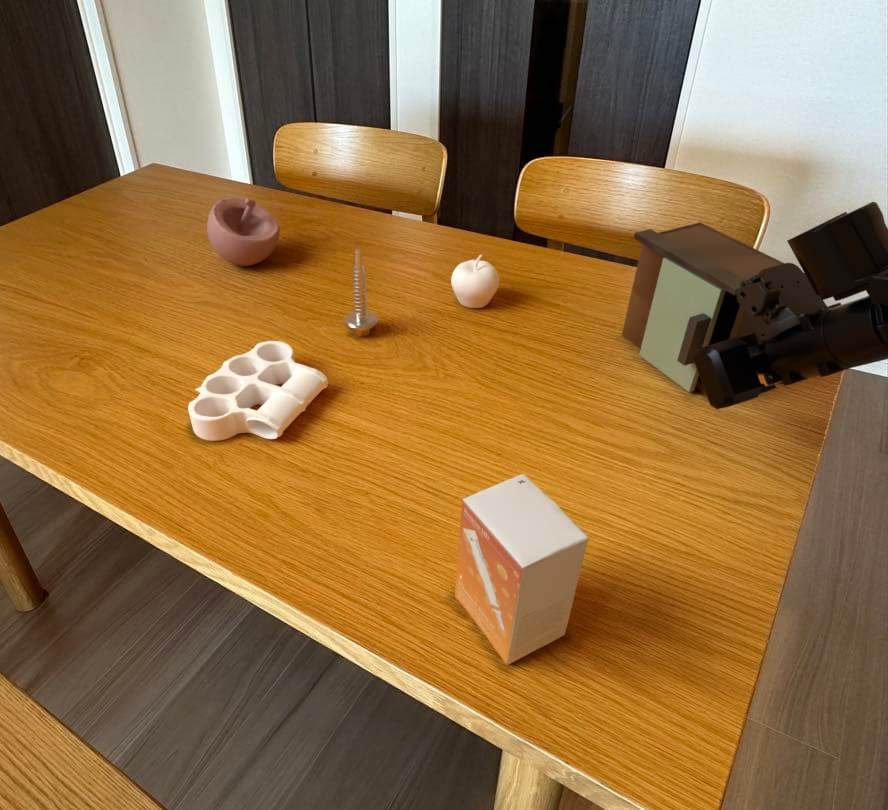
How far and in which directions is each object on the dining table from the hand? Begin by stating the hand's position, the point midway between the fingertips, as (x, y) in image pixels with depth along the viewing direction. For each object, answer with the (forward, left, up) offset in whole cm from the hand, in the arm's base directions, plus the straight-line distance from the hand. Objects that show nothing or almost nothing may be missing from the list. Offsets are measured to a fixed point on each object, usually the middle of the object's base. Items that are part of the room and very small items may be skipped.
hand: (721, 373), depth 77 cm
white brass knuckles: (+53, +11, -6) cm, 55 cm away
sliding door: (+5, -7, -6) cm, 10 cm away
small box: (+18, +34, -7) cm, 39 cm away
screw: (+45, -8, -6) cm, 46 cm away
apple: (+31, -20, -7) cm, 38 cm away
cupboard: (+2, -11, -6) cm, 13 cm away
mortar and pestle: (+71, -25, -7) cm, 76 cm away
